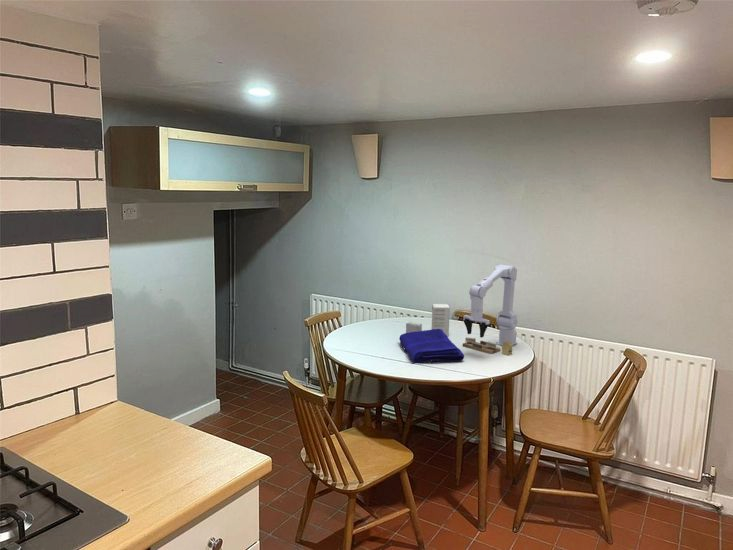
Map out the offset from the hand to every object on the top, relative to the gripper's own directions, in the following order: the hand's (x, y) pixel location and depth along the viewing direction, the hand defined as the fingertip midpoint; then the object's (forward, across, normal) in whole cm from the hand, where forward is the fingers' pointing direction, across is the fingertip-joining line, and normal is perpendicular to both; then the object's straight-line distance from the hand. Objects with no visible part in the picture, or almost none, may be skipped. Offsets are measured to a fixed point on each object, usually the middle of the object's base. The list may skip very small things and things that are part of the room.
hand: (475, 335), depth 272 cm
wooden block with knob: (+10, +10, +14) cm, 20 cm away
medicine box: (+10, -40, -2) cm, 41 cm away
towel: (+11, -18, -14) cm, 25 cm away
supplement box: (+10, -36, +16) cm, 41 cm away
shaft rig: (+10, -4, +11) cm, 15 cm away
